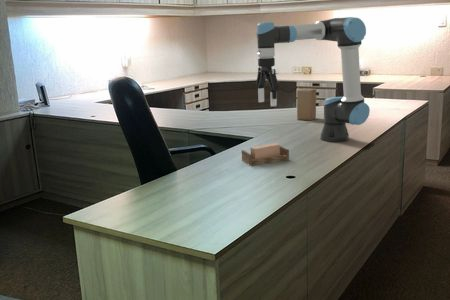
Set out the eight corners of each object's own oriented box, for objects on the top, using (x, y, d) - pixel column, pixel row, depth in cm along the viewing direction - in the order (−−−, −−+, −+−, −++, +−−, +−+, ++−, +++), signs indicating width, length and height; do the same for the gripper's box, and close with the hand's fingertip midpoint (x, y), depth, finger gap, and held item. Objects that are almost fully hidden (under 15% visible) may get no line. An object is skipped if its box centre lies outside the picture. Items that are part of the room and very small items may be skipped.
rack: (279, 155, 240) (279, 145, 238) (288, 160, 231) (288, 149, 229) (241, 160, 233) (241, 150, 232) (250, 165, 224) (249, 155, 223)
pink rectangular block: (275, 154, 237) (274, 143, 235) (279, 156, 233) (279, 144, 232) (250, 159, 230) (250, 147, 229) (255, 161, 227) (255, 149, 225)
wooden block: (316, 118, 328) (316, 88, 323) (310, 120, 320) (310, 90, 315) (302, 117, 333) (302, 88, 328) (296, 119, 325) (296, 90, 320)
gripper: (248, 56, 230) (249, 101, 236) (270, 59, 208) (271, 108, 213) (262, 55, 233) (263, 99, 238) (286, 58, 210) (286, 107, 215)
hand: (267, 104), depth 226 cm, fingers open, 13 cm apart
